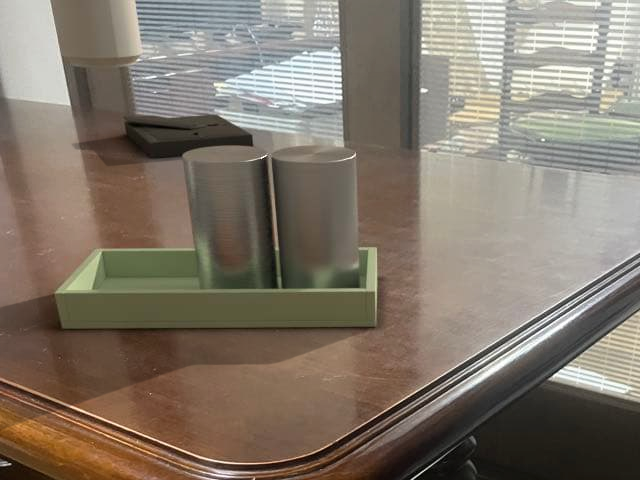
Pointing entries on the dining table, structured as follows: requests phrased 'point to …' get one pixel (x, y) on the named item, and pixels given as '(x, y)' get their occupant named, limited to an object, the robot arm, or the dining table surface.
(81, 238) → the dining table surface
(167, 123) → the picture frame
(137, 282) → the tray
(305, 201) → the can
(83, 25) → the can
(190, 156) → the can
